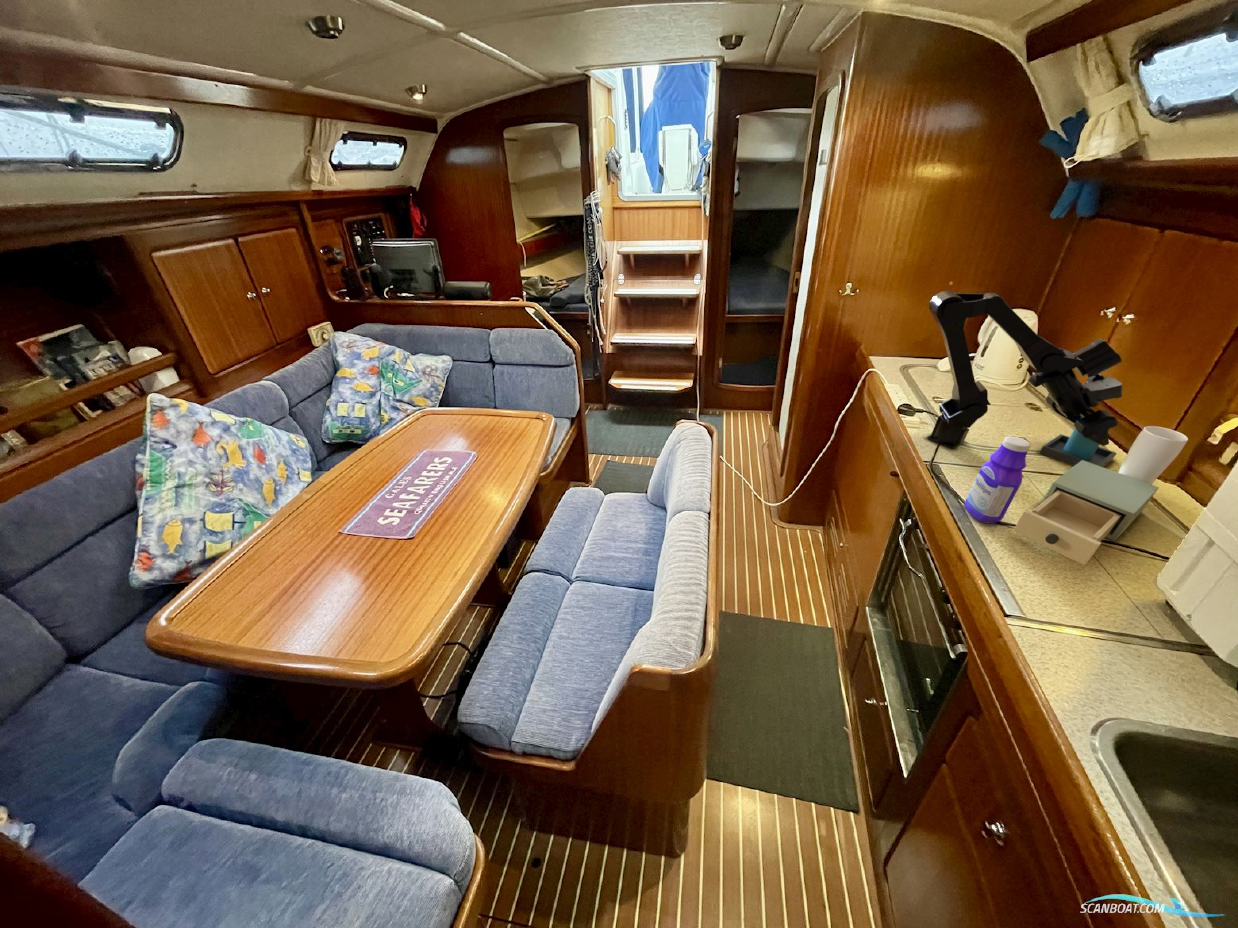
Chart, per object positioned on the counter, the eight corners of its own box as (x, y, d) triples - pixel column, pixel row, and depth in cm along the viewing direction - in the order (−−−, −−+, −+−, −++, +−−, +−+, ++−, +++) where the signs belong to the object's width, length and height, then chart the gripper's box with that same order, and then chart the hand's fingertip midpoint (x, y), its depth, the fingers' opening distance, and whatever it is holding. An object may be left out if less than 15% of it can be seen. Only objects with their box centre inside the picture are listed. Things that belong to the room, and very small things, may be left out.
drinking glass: (1153, 503, 103) (1198, 443, 95) (1116, 499, 104) (1158, 439, 96) (1131, 486, 109) (1172, 427, 101) (1097, 482, 110) (1135, 424, 102)
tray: (1039, 453, 121) (1042, 446, 120) (1057, 440, 126) (1060, 434, 125) (1095, 473, 113) (1100, 466, 112) (1112, 459, 118) (1117, 452, 117)
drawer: (1082, 568, 85) (1096, 547, 83) (1009, 533, 93) (1021, 513, 91) (1112, 535, 93) (1126, 516, 90) (1043, 506, 101) (1054, 487, 98)
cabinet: (1114, 540, 93) (1134, 513, 89) (1038, 507, 102) (1053, 481, 98) (1140, 513, 100) (1159, 487, 97) (1067, 484, 109) (1082, 459, 106)
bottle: (956, 503, 103) (990, 431, 94) (983, 504, 103) (1020, 432, 94) (977, 525, 97) (1015, 450, 87) (1005, 525, 97) (1047, 451, 87)
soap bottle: (1079, 461, 117) (1104, 421, 111) (1056, 450, 121) (1078, 411, 115) (1096, 458, 118) (1121, 418, 112) (1073, 447, 122) (1096, 408, 116)
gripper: (1131, 382, 101) (1163, 436, 104) (1084, 353, 116) (1113, 400, 119) (1068, 412, 107) (1101, 461, 110) (1031, 381, 122) (1061, 425, 125)
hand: (1095, 435), depth 116 cm, fingers open, 9 cm apart
